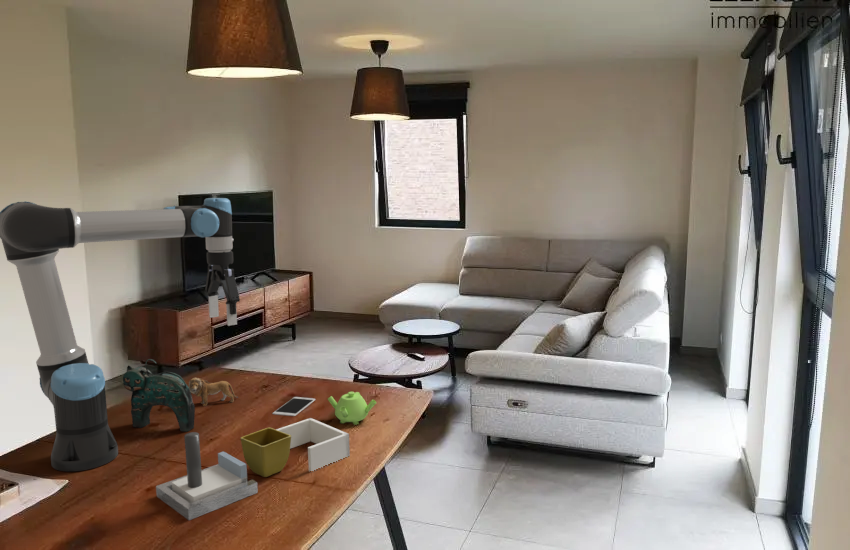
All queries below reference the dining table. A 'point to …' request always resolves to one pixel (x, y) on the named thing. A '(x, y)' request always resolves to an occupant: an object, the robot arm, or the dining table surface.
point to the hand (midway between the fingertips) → (222, 320)
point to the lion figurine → (210, 389)
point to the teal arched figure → (158, 396)
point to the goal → (319, 441)
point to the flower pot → (266, 451)
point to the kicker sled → (207, 473)
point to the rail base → (206, 503)
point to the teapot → (351, 407)
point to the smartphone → (294, 406)
